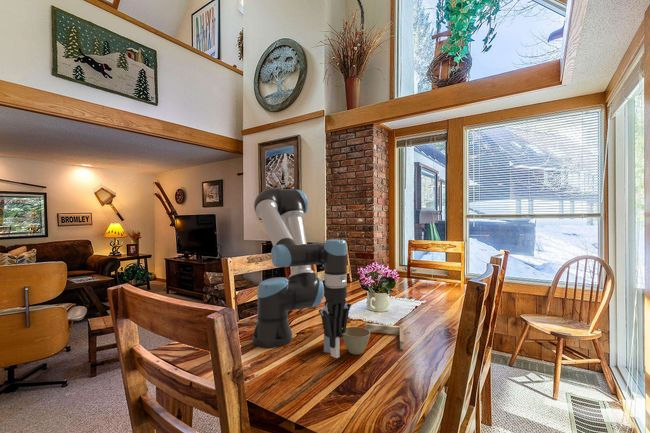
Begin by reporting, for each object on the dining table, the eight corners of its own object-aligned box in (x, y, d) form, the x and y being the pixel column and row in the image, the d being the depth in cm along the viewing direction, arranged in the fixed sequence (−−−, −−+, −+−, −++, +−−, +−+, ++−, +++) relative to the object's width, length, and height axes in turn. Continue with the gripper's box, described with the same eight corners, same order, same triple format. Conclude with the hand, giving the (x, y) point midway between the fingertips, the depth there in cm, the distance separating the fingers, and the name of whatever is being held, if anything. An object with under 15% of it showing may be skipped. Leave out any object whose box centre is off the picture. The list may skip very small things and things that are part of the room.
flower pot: (369, 359, 100) (369, 338, 100) (340, 356, 102) (340, 335, 102) (370, 346, 110) (370, 327, 110) (344, 344, 112) (344, 325, 112)
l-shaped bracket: (361, 345, 111) (361, 337, 111) (365, 330, 126) (365, 323, 126) (404, 350, 107) (404, 341, 107) (403, 333, 122) (403, 326, 122)
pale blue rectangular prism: (323, 352, 105) (324, 318, 105) (329, 341, 114) (329, 310, 114) (330, 352, 105) (330, 318, 105) (335, 342, 113) (335, 311, 113)
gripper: (328, 291, 92) (328, 366, 92) (357, 284, 101) (356, 354, 101) (313, 286, 98) (312, 358, 98) (341, 281, 106) (341, 346, 106)
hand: (335, 356), depth 99 cm, fingers closed
